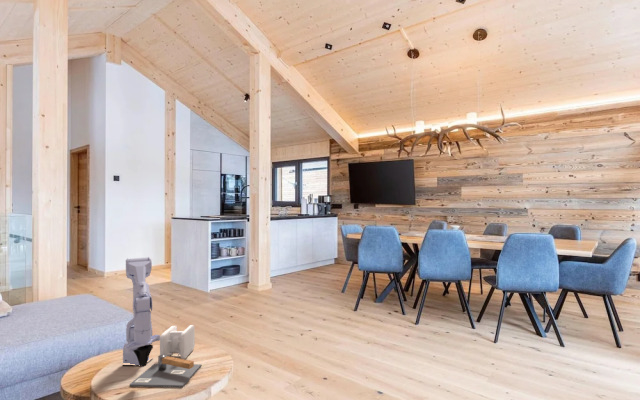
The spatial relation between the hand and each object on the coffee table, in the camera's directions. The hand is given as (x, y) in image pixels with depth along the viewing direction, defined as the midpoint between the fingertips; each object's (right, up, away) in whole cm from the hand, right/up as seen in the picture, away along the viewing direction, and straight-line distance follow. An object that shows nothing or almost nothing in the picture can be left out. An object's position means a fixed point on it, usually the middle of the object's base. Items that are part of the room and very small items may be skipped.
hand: (143, 365), depth 142 cm
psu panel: (+7, -6, +6) cm, 11 cm away
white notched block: (+3, -7, +26) cm, 27 cm away
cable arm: (+9, -5, +7) cm, 13 cm away
